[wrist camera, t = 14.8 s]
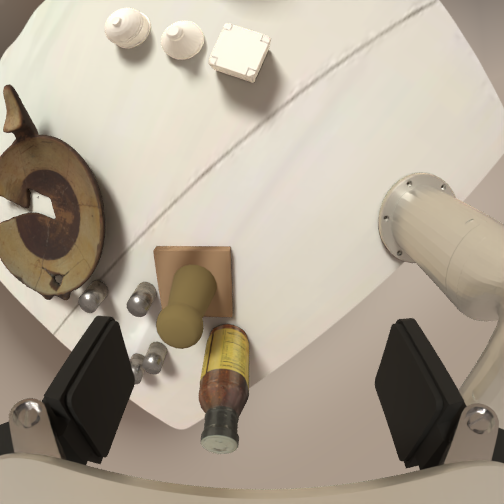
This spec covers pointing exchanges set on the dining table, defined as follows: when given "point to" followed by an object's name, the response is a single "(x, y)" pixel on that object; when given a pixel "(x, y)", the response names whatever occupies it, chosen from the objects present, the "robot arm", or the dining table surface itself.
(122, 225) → the dining table surface
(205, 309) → the olive pawn
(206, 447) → the sauce bottle
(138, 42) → the container set
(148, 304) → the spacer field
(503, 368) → the robot arm
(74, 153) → the broken ceramic bowl
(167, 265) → the walnut board
